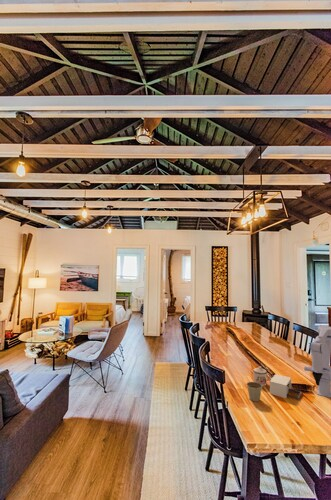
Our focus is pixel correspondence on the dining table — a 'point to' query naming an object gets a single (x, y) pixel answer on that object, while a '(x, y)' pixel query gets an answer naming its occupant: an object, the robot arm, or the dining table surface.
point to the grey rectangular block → (279, 385)
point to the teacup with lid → (261, 376)
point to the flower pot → (254, 390)
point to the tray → (295, 393)
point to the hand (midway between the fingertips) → (317, 384)
